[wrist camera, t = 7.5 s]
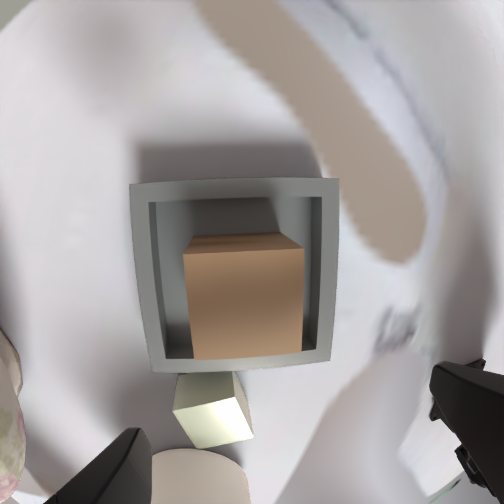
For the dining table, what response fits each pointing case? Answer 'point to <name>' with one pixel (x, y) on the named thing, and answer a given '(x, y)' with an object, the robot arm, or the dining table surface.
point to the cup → (197, 478)
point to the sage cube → (212, 408)
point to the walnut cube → (244, 295)
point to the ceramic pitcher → (10, 420)
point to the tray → (231, 222)
